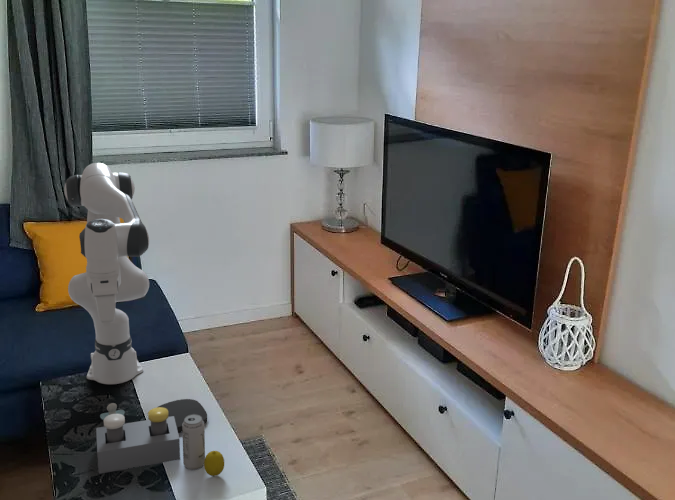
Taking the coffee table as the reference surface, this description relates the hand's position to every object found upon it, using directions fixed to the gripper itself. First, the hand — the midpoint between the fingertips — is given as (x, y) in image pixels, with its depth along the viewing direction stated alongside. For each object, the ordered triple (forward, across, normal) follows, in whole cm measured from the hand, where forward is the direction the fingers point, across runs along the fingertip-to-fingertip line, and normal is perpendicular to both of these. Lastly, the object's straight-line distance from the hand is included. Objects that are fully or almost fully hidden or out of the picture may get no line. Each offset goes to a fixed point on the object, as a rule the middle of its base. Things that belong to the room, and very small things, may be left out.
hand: (107, 323), depth 187 cm
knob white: (+36, +11, 0) cm, 37 cm away
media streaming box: (+38, -4, +20) cm, 43 cm away
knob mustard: (+36, +11, +12) cm, 39 cm away
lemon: (+37, +27, +25) cm, 52 cm away
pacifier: (+38, -10, 0) cm, 39 cm away
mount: (+37, +11, +6) cm, 39 cm away
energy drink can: (+37, +20, +20) cm, 47 cm away
